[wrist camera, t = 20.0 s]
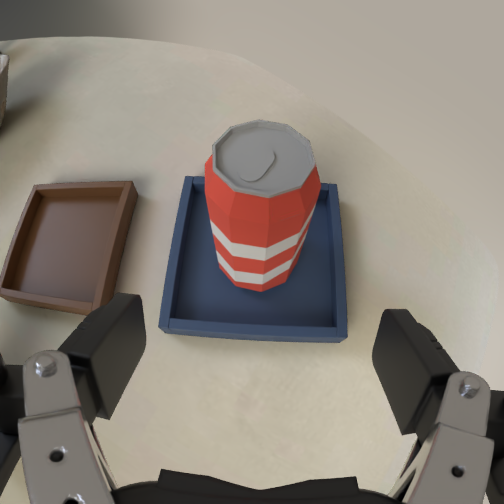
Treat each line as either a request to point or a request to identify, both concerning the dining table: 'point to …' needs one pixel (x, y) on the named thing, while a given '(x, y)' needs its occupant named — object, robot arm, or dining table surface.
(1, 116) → the ceramic bowl
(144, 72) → the dining table surface
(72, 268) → the tray
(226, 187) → the beverage can
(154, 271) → the dining table surface
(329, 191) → the tray
